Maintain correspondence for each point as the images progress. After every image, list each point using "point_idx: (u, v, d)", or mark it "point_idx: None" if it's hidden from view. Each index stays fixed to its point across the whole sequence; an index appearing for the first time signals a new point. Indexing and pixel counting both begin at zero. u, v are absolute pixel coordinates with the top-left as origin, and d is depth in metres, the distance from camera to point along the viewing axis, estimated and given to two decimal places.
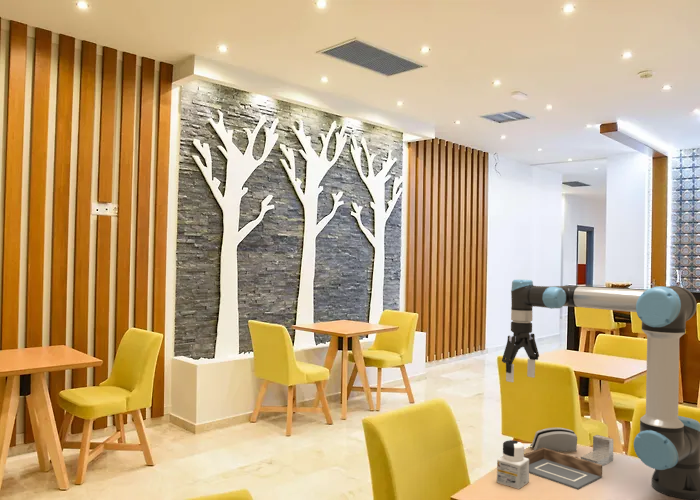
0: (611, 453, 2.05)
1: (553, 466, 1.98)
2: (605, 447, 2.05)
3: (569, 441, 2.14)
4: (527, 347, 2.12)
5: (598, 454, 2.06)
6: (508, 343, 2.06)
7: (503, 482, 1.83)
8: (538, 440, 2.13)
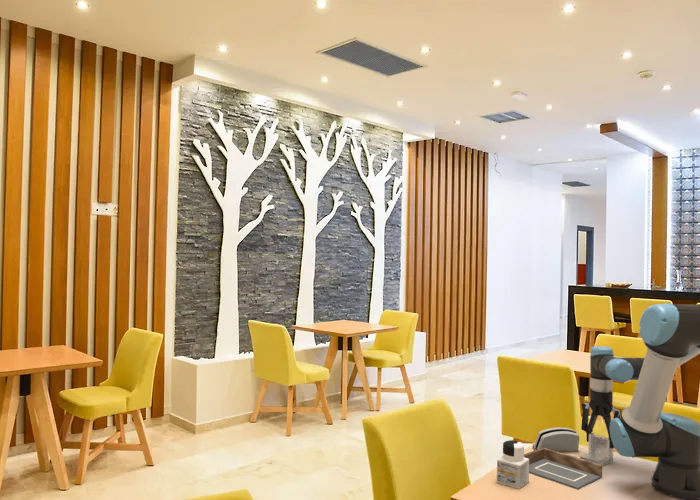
0: None
1: (553, 466, 1.98)
2: (605, 447, 2.05)
3: (571, 441, 2.14)
4: None
5: (598, 454, 2.06)
6: None
7: (503, 482, 1.83)
8: (541, 440, 2.13)
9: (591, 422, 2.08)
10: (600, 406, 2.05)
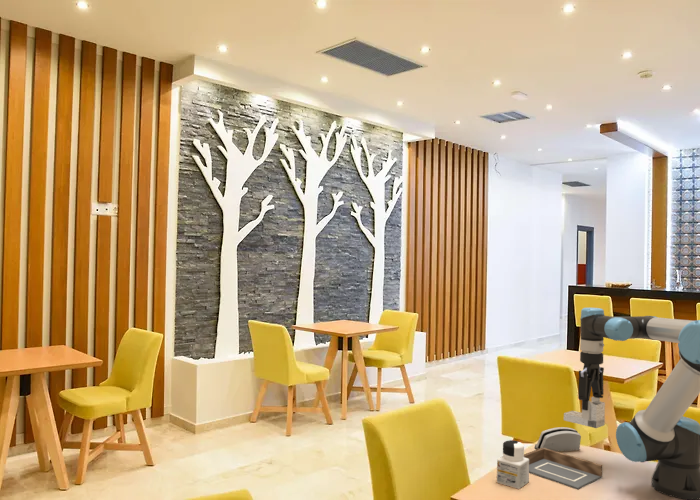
0: (592, 418, 1.98)
1: (553, 466, 1.98)
2: None
3: (573, 440, 2.15)
4: None
5: None
6: None
7: (503, 482, 1.83)
8: (544, 440, 2.13)
9: None
10: None
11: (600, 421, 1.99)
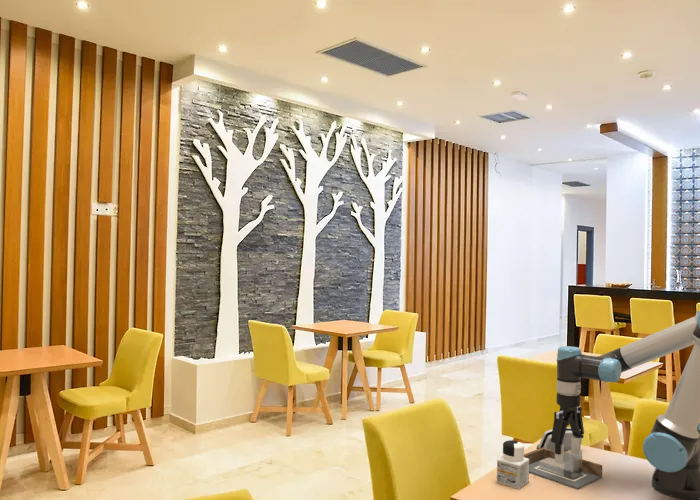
0: (568, 468, 1.88)
1: None
2: None
3: None
4: None
5: None
6: None
7: (503, 482, 1.83)
8: (547, 441, 2.12)
9: None
10: None
11: (577, 471, 1.89)
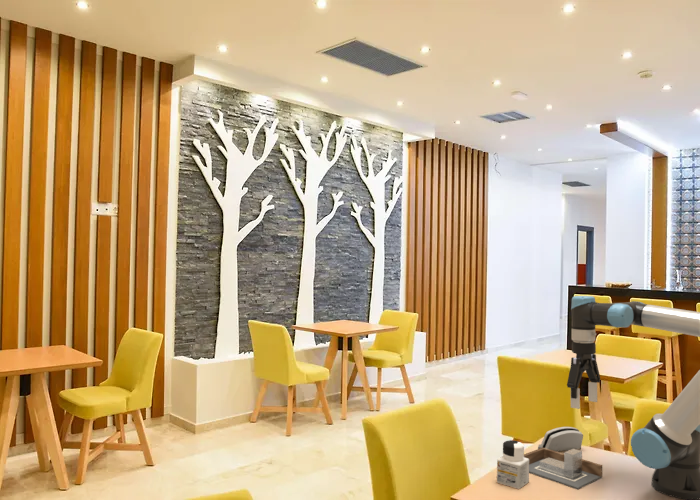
0: (568, 468, 1.88)
1: None
2: None
3: (576, 439, 2.16)
4: None
5: None
6: None
7: (503, 482, 1.83)
8: (549, 441, 2.12)
9: None
10: None
11: (577, 471, 1.89)
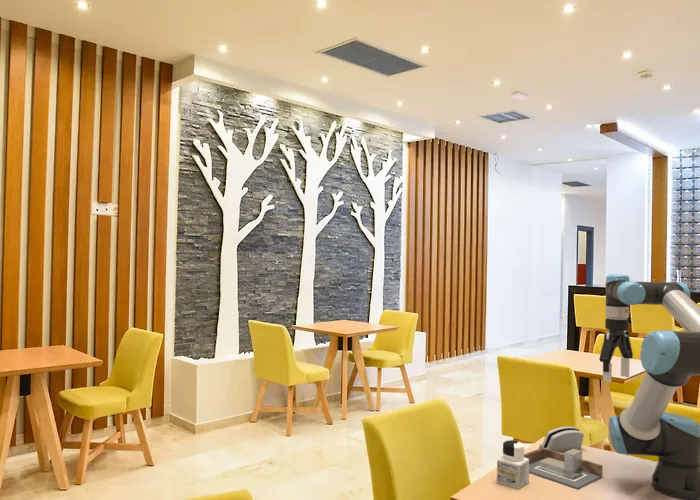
0: (568, 468, 1.88)
1: None
2: None
3: (577, 439, 2.17)
4: None
5: None
6: None
7: (503, 482, 1.83)
8: (551, 441, 2.12)
9: None
10: None
11: (577, 471, 1.89)
